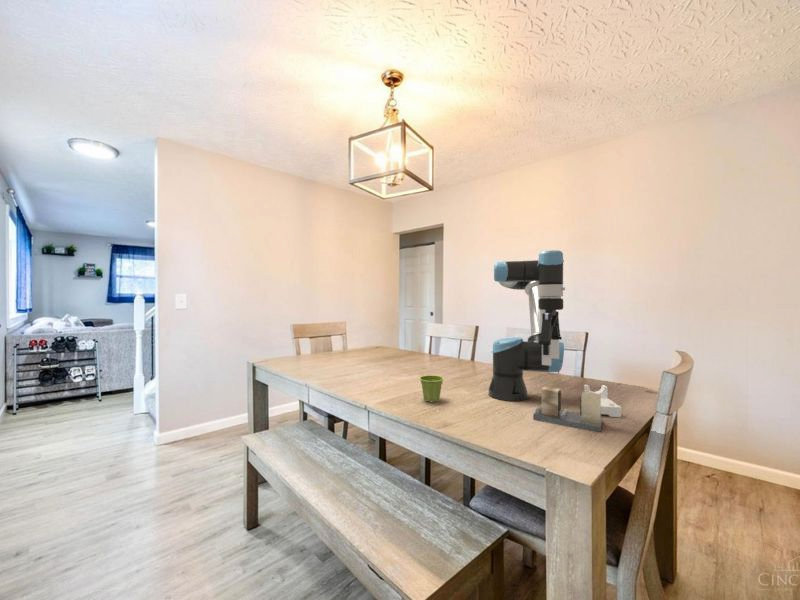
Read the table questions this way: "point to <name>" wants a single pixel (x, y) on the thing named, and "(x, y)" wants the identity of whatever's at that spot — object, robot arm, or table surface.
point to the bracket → (606, 402)
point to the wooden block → (551, 401)
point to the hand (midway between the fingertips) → (550, 361)
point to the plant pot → (431, 387)
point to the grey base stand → (577, 414)
